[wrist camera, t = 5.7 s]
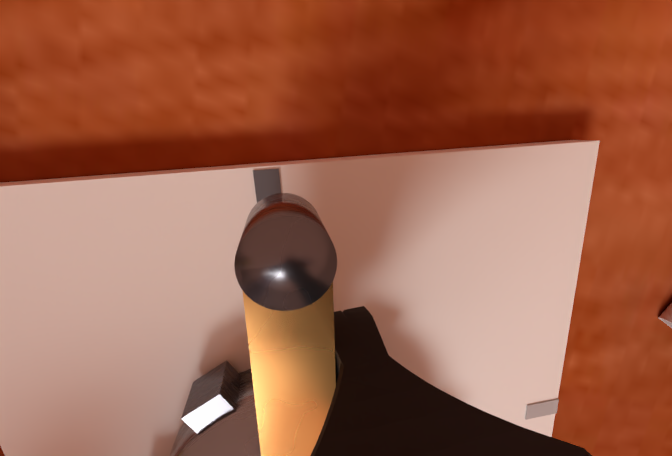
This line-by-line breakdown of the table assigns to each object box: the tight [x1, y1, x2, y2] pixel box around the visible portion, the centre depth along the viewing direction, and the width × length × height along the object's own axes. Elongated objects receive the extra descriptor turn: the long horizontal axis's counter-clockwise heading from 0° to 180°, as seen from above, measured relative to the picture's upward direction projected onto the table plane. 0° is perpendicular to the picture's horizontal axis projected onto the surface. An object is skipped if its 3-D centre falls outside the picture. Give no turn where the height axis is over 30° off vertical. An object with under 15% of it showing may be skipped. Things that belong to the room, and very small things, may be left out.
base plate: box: [0, 140, 600, 456], centre depth 14 cm, size 22×22×1 cm
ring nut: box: [170, 193, 337, 456], centre depth 11 cm, size 17×12×4 cm
